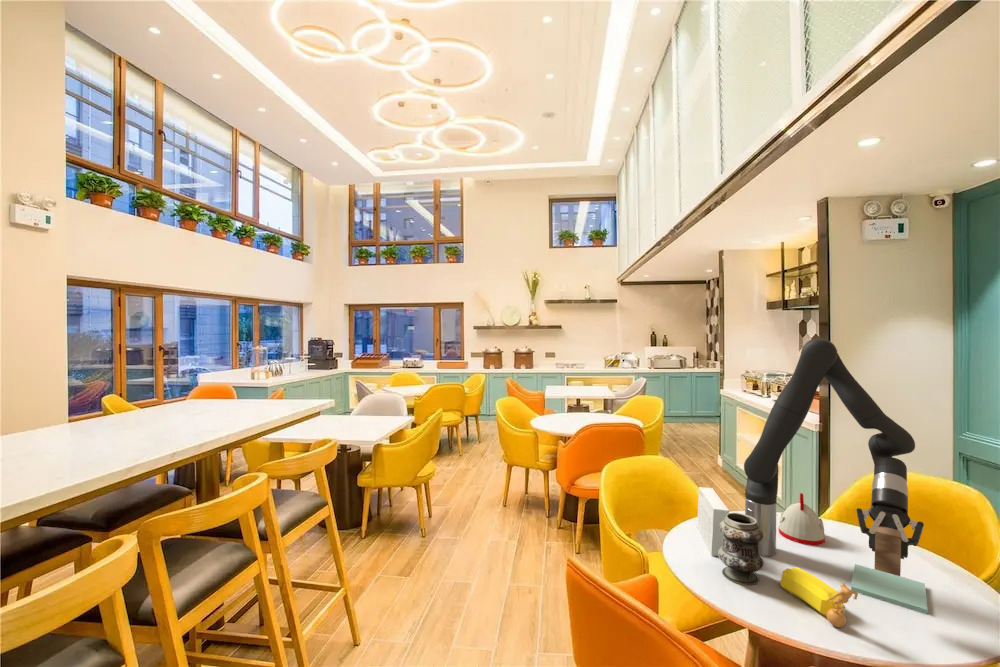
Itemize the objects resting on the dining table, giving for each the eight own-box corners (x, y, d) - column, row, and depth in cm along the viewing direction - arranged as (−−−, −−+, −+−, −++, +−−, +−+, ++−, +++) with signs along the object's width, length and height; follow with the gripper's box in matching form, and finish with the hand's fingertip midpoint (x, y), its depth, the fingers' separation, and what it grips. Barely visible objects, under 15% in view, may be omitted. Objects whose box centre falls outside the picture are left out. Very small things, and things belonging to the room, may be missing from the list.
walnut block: (874, 569, 116) (875, 531, 116) (875, 561, 120) (876, 524, 120) (900, 576, 113) (901, 537, 113) (900, 568, 117) (901, 530, 116)
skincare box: (729, 558, 147) (729, 510, 147) (711, 556, 148) (711, 509, 148) (712, 529, 168) (712, 487, 167) (696, 527, 169) (697, 486, 169)
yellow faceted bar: (793, 581, 134) (772, 584, 133) (793, 559, 134) (772, 562, 132) (853, 619, 117) (830, 624, 115) (854, 594, 117) (831, 598, 115)
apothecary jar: (767, 575, 137) (768, 517, 137) (757, 593, 128) (757, 530, 128) (724, 561, 145) (725, 506, 145) (712, 576, 136) (713, 518, 136)
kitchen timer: (823, 533, 164) (823, 492, 164) (826, 549, 153) (827, 505, 152) (778, 524, 172) (779, 485, 171) (778, 538, 160) (779, 497, 160)
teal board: (851, 590, 129) (851, 586, 129) (854, 567, 141) (854, 563, 141) (927, 614, 119) (927, 609, 119) (924, 587, 131) (924, 583, 131)
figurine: (843, 618, 117) (844, 573, 117) (865, 634, 111) (866, 587, 111) (815, 621, 116) (815, 576, 116) (835, 637, 110) (836, 589, 110)
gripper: (855, 481, 126) (851, 538, 118) (926, 493, 117) (927, 557, 108) (856, 494, 130) (852, 550, 122) (924, 507, 121) (925, 570, 112)
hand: (887, 553), depth 115 cm, fingers closed on walnut block, 5 cm apart
